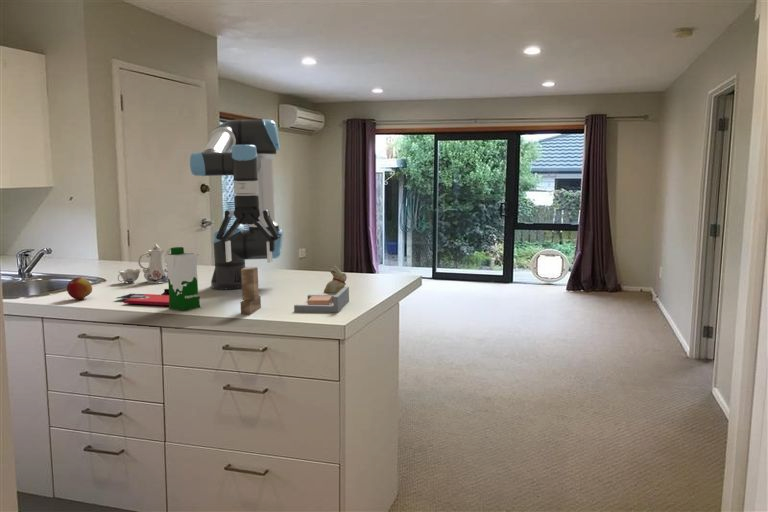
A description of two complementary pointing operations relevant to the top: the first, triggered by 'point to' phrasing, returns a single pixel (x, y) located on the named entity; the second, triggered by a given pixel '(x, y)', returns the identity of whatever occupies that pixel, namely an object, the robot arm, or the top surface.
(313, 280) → the top surface
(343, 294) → the frame
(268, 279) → the top surface
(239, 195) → the robot arm
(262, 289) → the top surface
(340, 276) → the tan bunny-shaped figure
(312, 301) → the salmon square block
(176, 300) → the milk carton
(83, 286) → the apple
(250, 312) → the stepped wooden beam
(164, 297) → the red board with handle
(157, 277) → the chinaware
